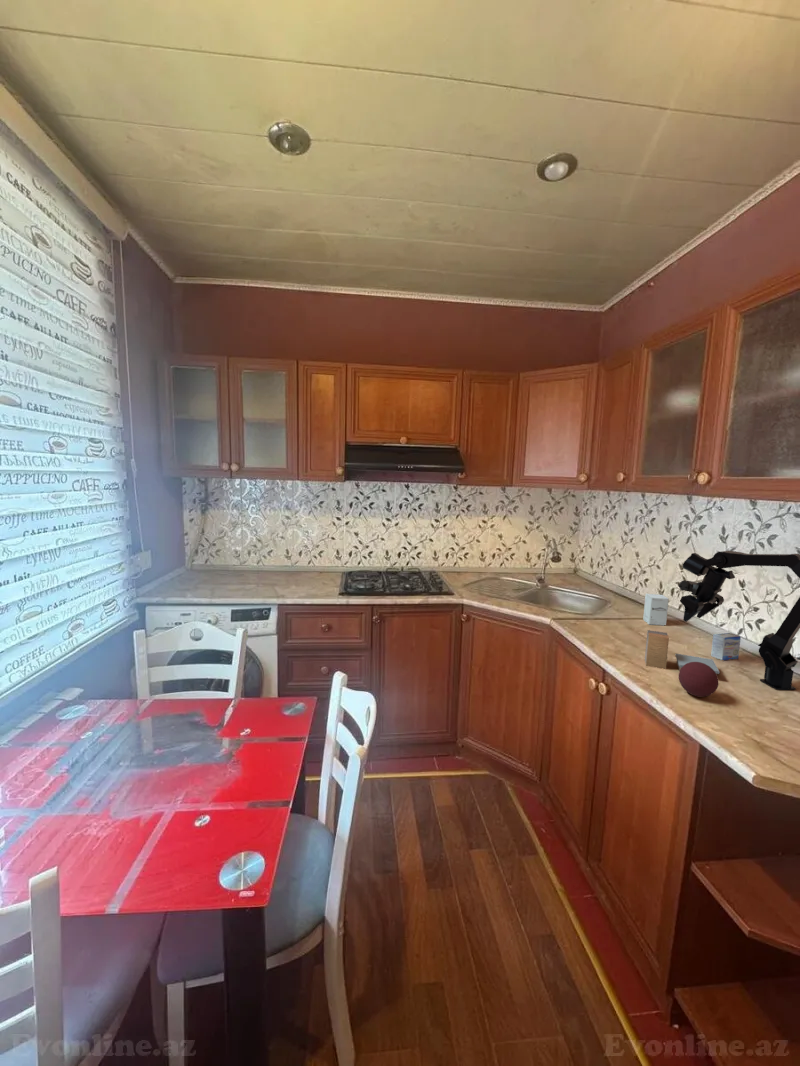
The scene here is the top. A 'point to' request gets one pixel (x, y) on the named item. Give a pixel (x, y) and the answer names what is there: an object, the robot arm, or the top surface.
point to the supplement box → (655, 609)
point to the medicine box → (725, 646)
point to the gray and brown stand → (687, 659)
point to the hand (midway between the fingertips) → (691, 619)
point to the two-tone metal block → (656, 649)
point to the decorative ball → (698, 679)
